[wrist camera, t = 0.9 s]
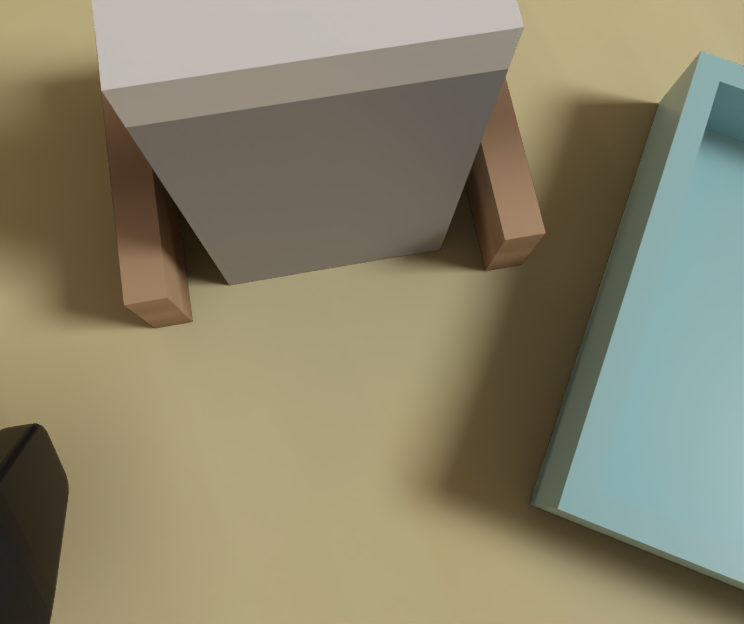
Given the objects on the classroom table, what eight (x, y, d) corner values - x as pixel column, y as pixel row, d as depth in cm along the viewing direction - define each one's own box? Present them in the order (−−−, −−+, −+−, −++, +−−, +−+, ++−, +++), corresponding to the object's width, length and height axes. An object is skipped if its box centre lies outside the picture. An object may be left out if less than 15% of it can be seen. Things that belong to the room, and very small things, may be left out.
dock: (520, 264, 22) (545, 233, 20) (154, 328, 22) (123, 305, 19) (464, 36, 24) (479, -24, 22) (127, 86, 24) (94, 31, 21)
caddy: (440, 249, 23) (523, 27, 11) (229, 285, 22) (101, 90, 11) (412, 122, 24) (463, -196, 12) (210, 154, 23) (76, -146, 12)
